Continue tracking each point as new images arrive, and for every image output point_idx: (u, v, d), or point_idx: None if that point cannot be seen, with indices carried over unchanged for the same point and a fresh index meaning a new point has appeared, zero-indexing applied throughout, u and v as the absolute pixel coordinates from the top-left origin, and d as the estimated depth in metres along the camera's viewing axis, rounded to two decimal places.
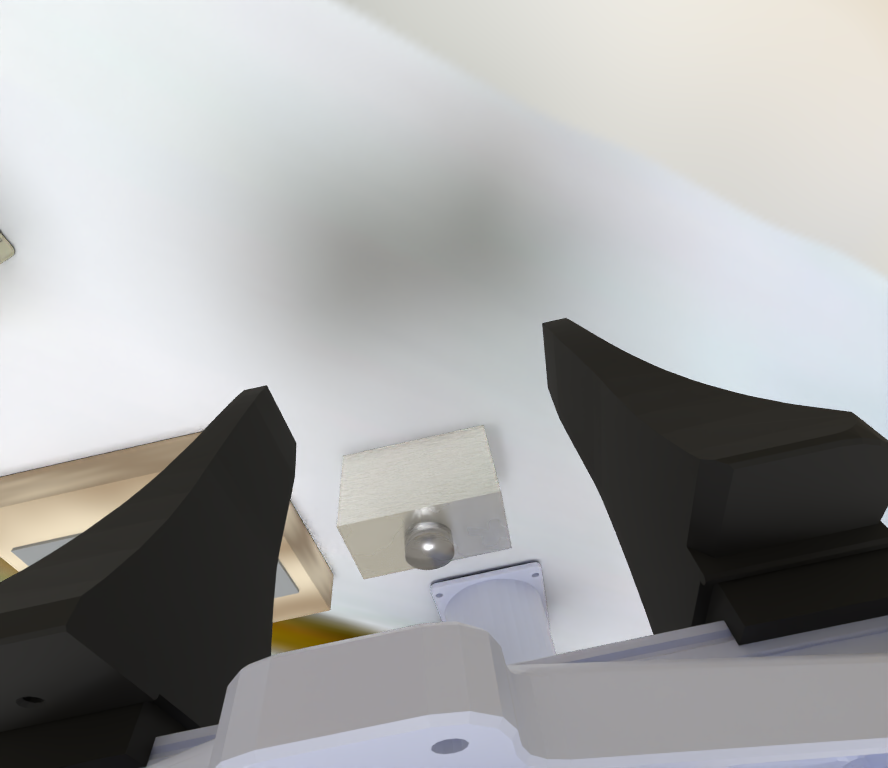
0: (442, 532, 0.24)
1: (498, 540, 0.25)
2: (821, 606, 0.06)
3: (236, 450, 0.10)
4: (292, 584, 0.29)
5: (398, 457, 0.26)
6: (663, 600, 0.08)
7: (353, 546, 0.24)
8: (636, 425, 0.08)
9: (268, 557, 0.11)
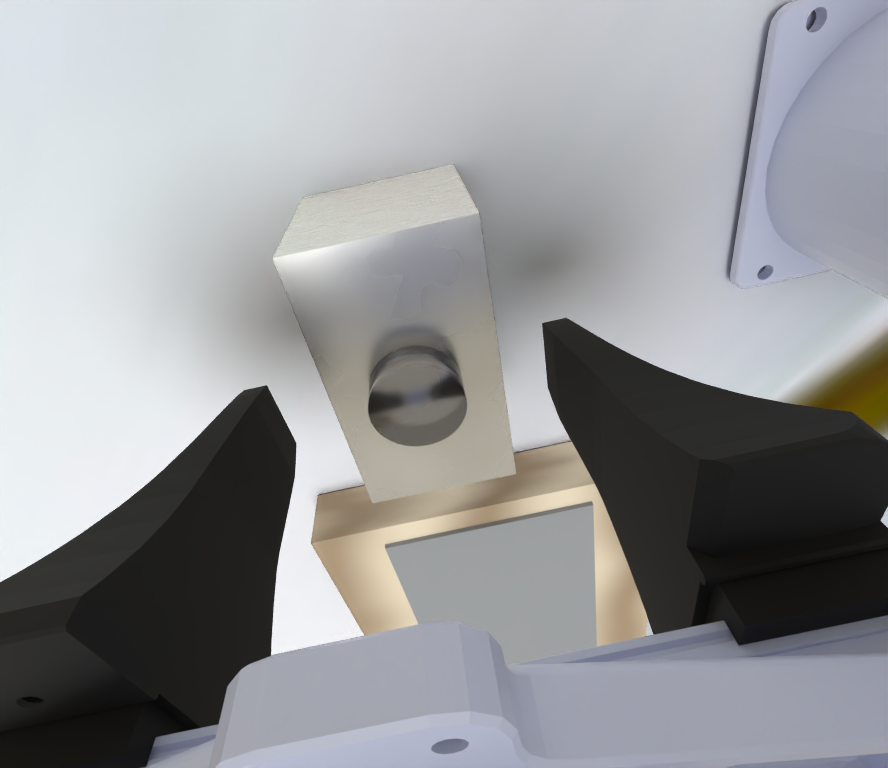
0: (375, 377, 0.12)
1: (445, 248, 0.11)
2: (822, 606, 0.06)
3: (236, 450, 0.10)
4: (571, 509, 0.20)
5: None
6: (663, 599, 0.08)
7: (423, 485, 0.15)
8: (637, 425, 0.08)
9: (268, 557, 0.11)
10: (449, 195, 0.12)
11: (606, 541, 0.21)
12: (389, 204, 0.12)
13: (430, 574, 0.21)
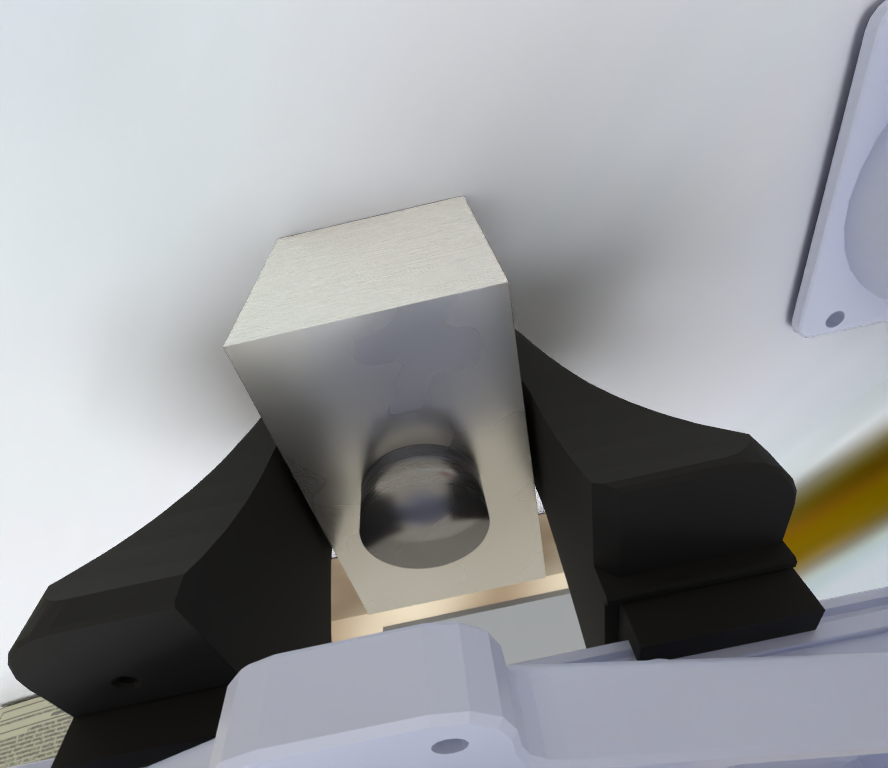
0: (369, 488, 0.09)
1: (460, 327, 0.08)
2: (718, 627, 0.06)
3: None
4: None
5: None
6: (587, 614, 0.08)
7: (431, 594, 0.12)
8: (554, 443, 0.08)
9: (324, 544, 0.11)
10: (463, 246, 0.09)
11: None
12: (384, 258, 0.09)
13: None
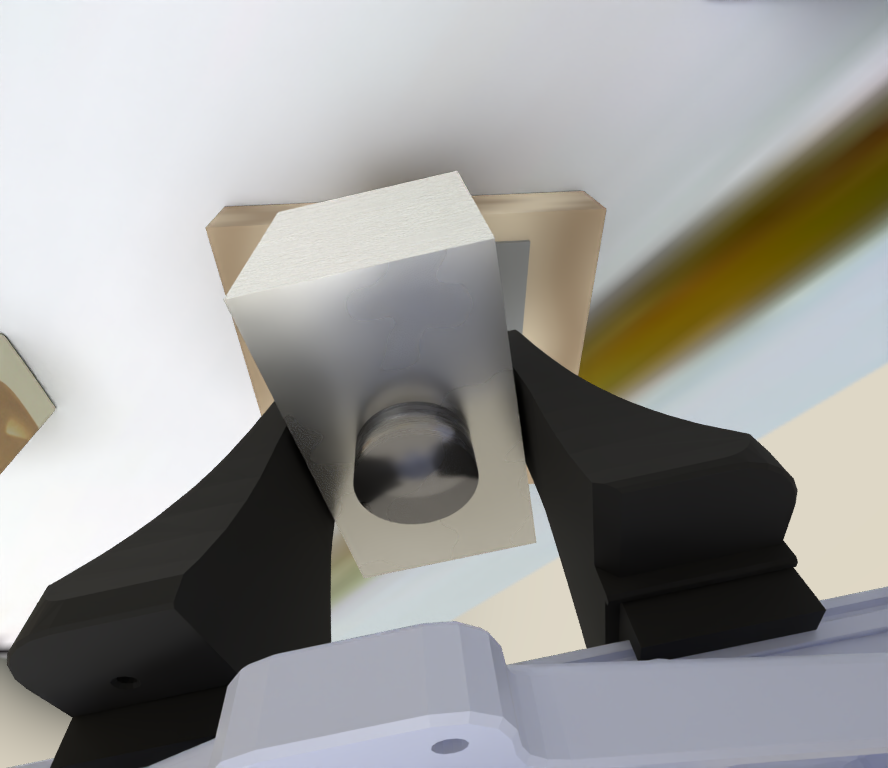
0: (363, 443, 0.09)
1: (449, 283, 0.08)
2: (719, 627, 0.06)
3: None
4: (506, 244, 0.18)
5: None
6: (588, 614, 0.08)
7: (424, 557, 0.12)
8: (556, 443, 0.08)
9: (324, 545, 0.11)
10: (454, 211, 0.09)
11: (538, 309, 0.20)
12: (378, 223, 0.10)
13: None
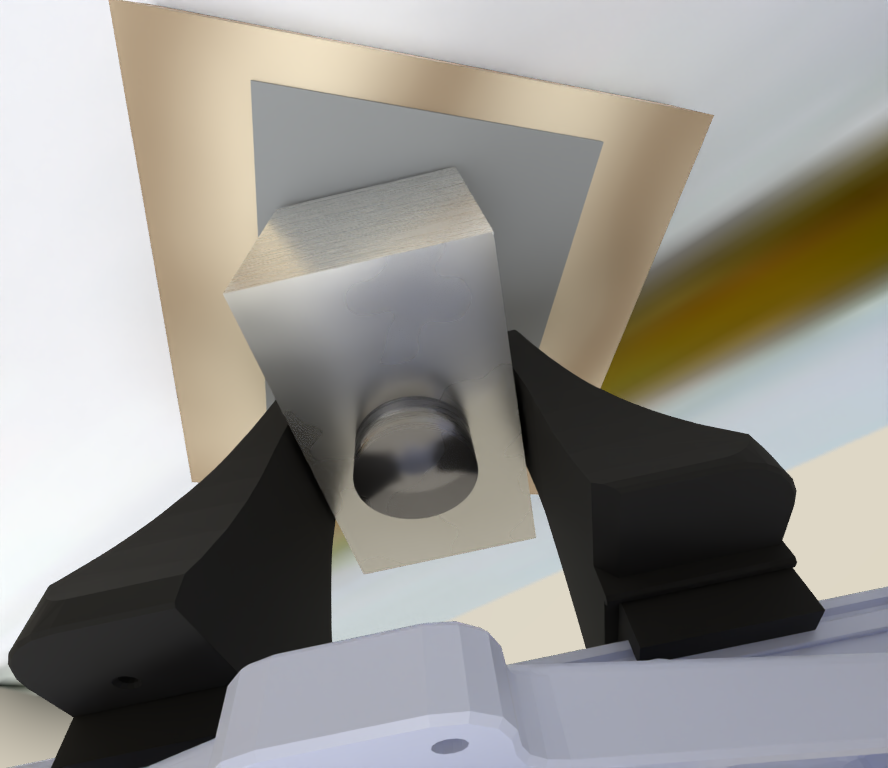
0: (362, 438, 0.09)
1: (448, 277, 0.08)
2: (718, 627, 0.06)
3: None
4: (570, 139, 0.12)
5: None
6: (588, 615, 0.08)
7: (424, 553, 0.12)
8: (554, 443, 0.08)
9: (324, 544, 0.11)
10: (452, 206, 0.09)
11: (587, 251, 0.14)
12: (377, 218, 0.10)
13: (311, 196, 0.12)
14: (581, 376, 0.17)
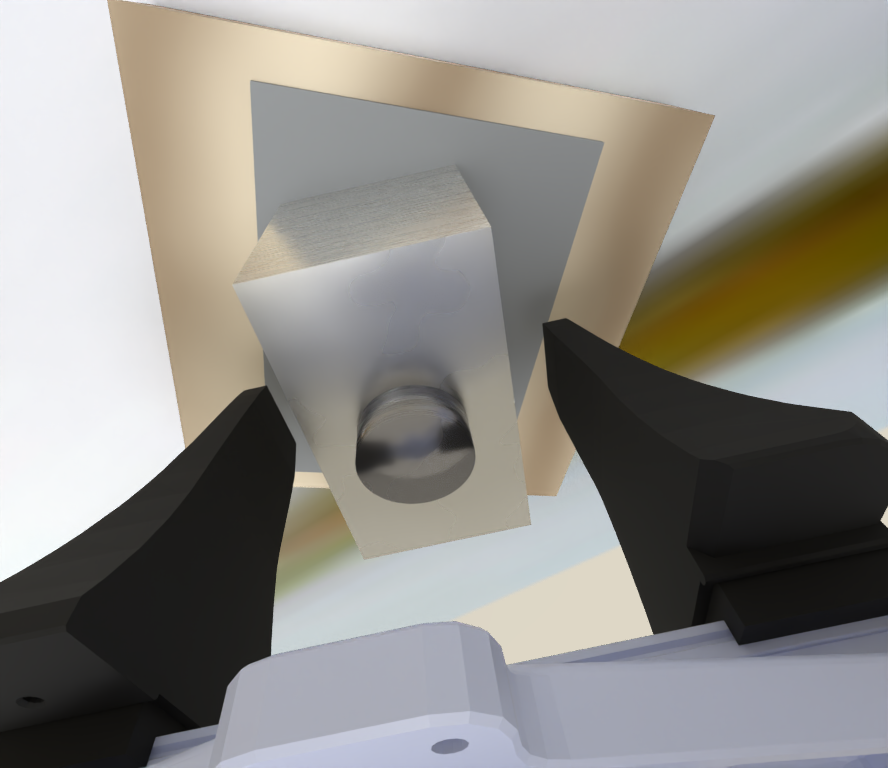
0: (364, 424, 0.10)
1: (448, 270, 0.09)
2: (822, 606, 0.06)
3: (236, 450, 0.10)
4: (570, 140, 0.12)
5: None
6: (663, 599, 0.08)
7: (422, 539, 0.13)
8: (636, 426, 0.08)
9: (268, 556, 0.11)
10: (452, 202, 0.10)
11: (587, 252, 0.14)
12: (379, 213, 0.10)
13: None
14: None
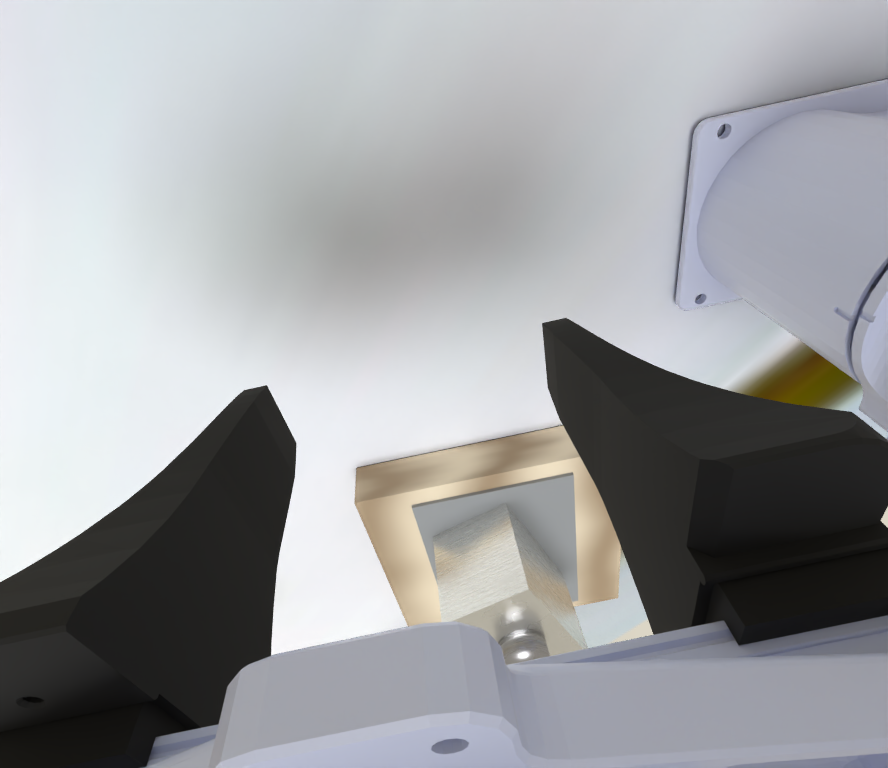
0: None
1: (517, 602, 0.22)
2: (822, 606, 0.06)
3: (236, 450, 0.10)
4: (557, 478, 0.25)
5: None
6: (663, 599, 0.08)
7: None
8: (636, 425, 0.08)
9: (268, 556, 0.11)
10: (511, 557, 0.23)
11: (584, 505, 0.27)
12: (482, 563, 0.24)
13: (445, 530, 0.27)
14: (606, 548, 0.29)
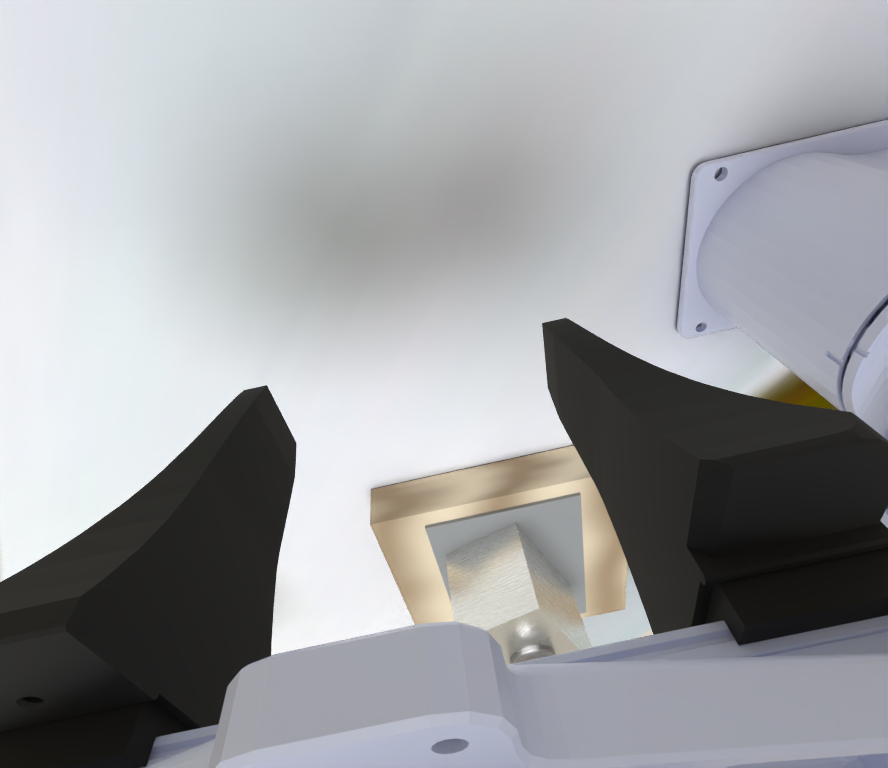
0: None
1: (528, 620, 0.23)
2: (821, 606, 0.06)
3: (236, 450, 0.10)
4: (564, 498, 0.26)
5: None
6: (663, 599, 0.08)
7: None
8: (636, 425, 0.08)
9: (268, 557, 0.11)
10: (521, 576, 0.24)
11: (592, 523, 0.28)
12: (494, 581, 0.25)
13: None
14: (613, 562, 0.30)
